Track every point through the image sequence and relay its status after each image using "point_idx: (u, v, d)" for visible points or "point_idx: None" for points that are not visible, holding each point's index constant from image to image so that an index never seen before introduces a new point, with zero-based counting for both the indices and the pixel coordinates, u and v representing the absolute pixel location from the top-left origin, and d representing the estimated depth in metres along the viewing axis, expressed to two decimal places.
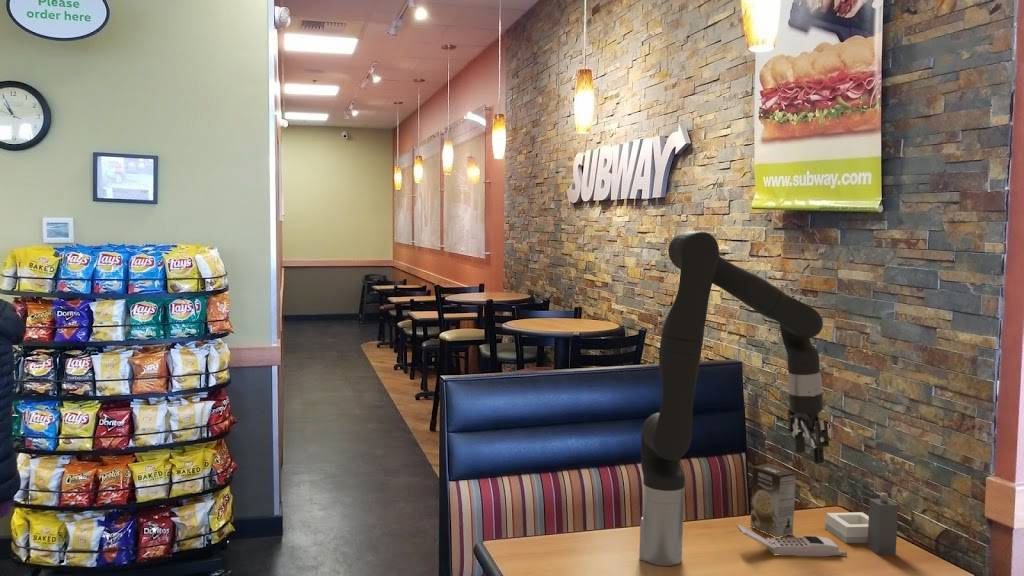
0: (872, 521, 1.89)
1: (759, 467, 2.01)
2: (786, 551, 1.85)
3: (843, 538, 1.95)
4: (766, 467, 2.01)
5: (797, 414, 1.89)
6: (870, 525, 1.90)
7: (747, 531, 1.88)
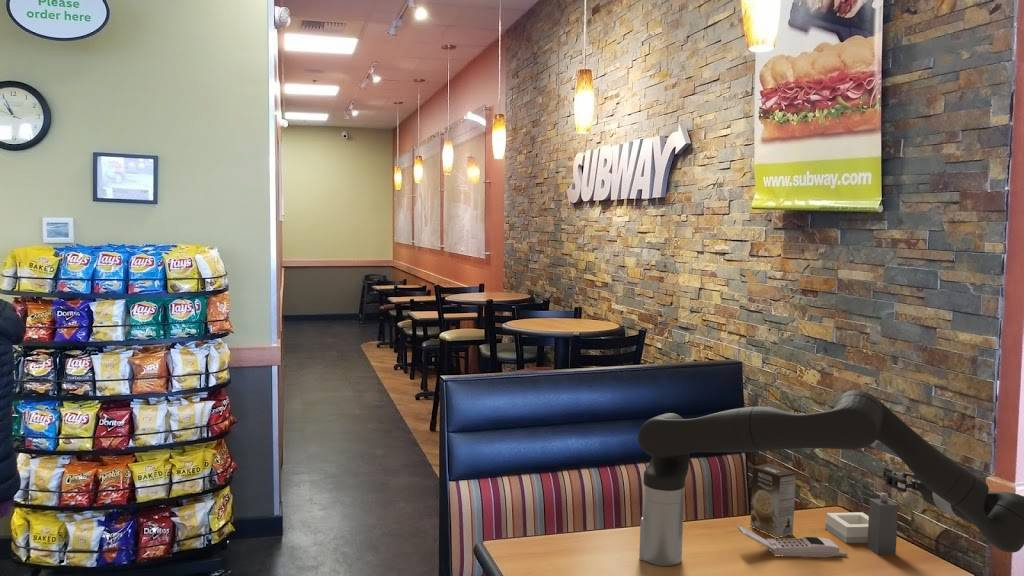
0: (872, 521, 1.89)
1: (759, 467, 2.01)
2: (787, 552, 1.84)
3: (843, 538, 1.95)
4: (766, 467, 2.01)
5: None
6: (870, 525, 1.90)
7: (748, 532, 1.87)
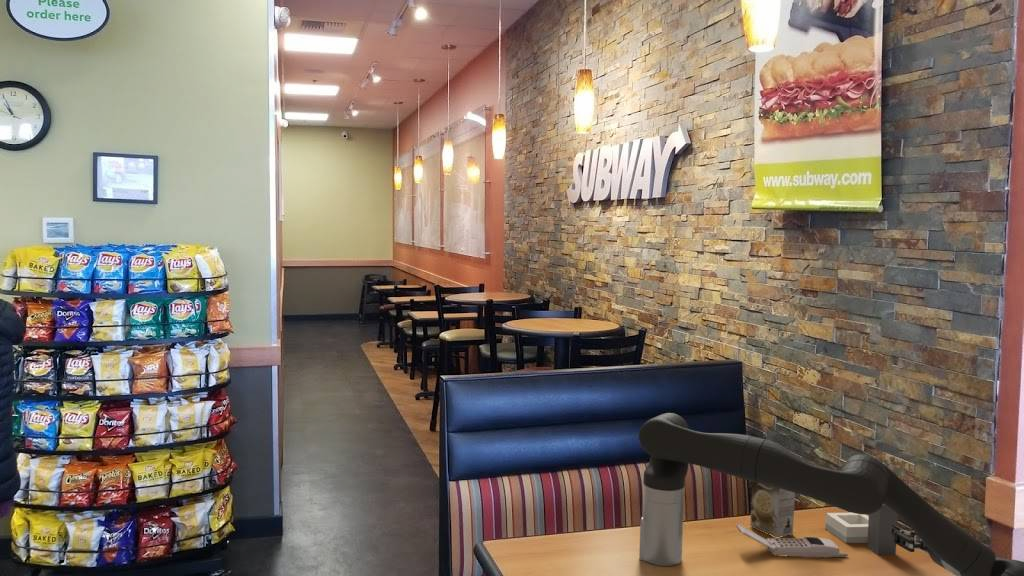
0: (872, 521, 1.89)
1: None
2: (786, 552, 1.85)
3: (843, 538, 1.95)
4: None
5: None
6: (870, 525, 1.90)
7: (747, 531, 1.88)
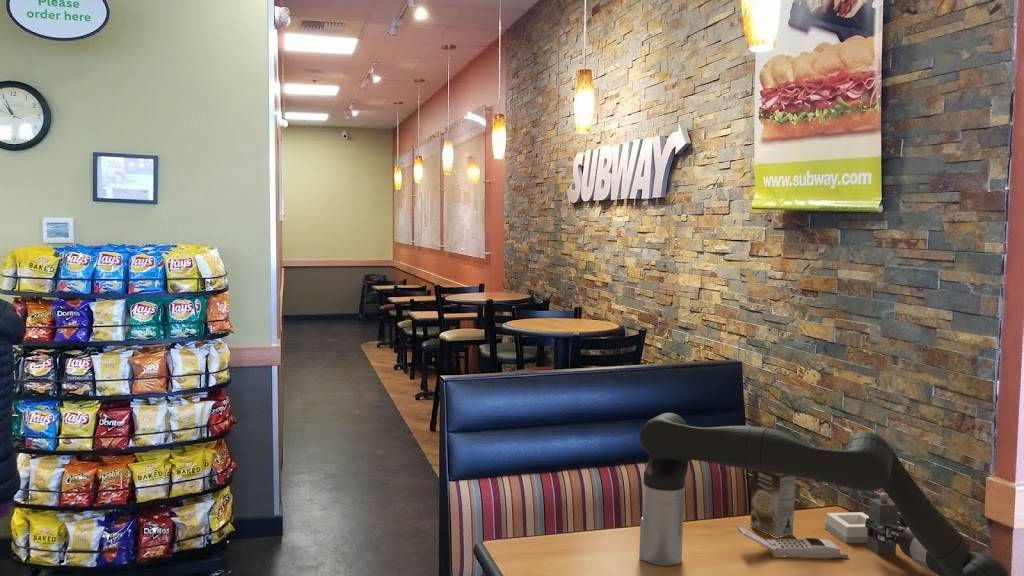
0: None
1: None
2: (786, 553, 1.84)
3: (843, 538, 1.95)
4: None
5: None
6: None
7: (747, 532, 1.87)
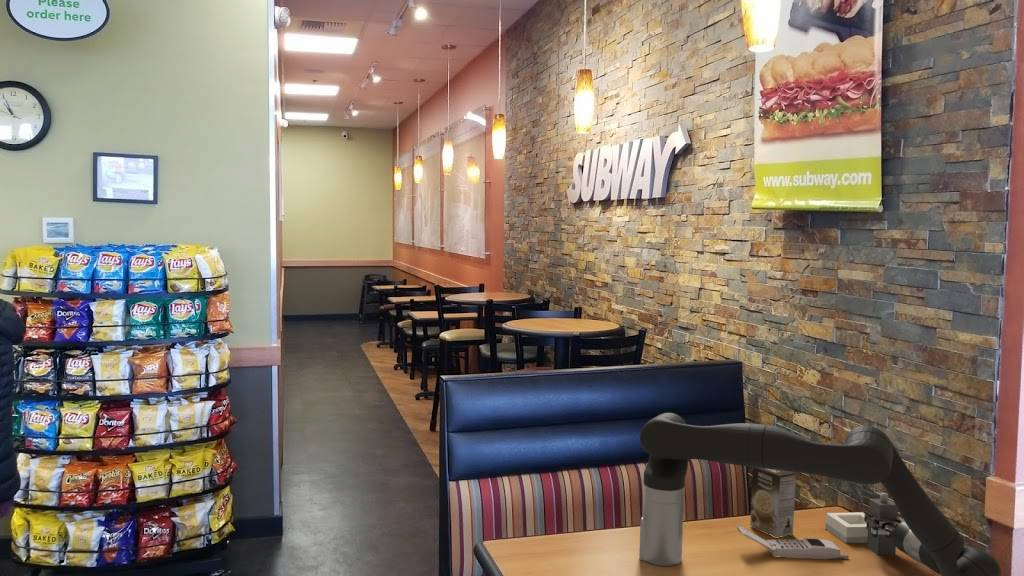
0: None
1: None
2: (786, 553, 1.84)
3: (843, 538, 1.95)
4: None
5: None
6: None
7: (747, 532, 1.87)
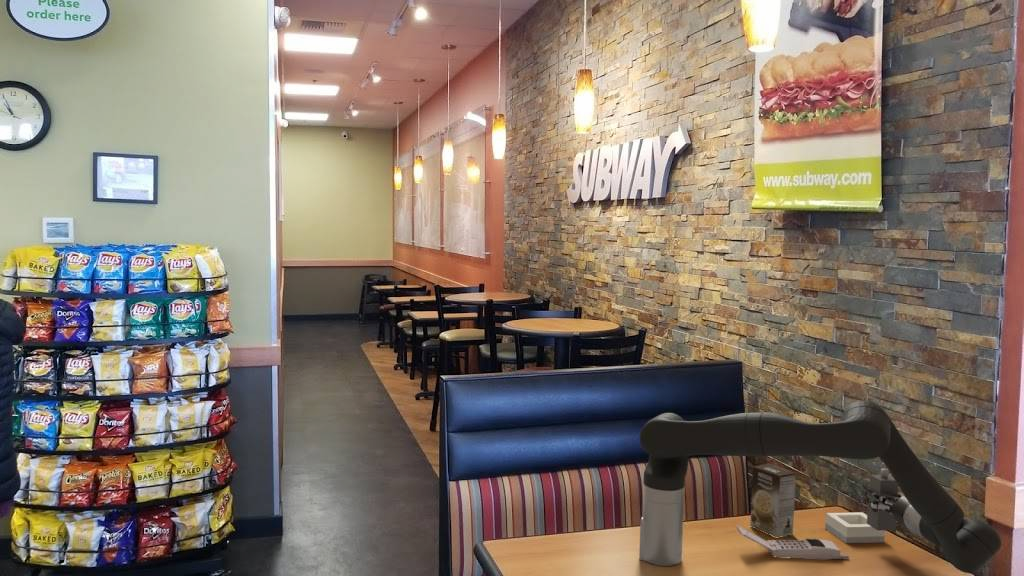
0: None
1: (759, 467, 2.01)
2: (786, 554, 1.83)
3: (843, 538, 1.95)
4: (766, 467, 2.01)
5: None
6: None
7: (747, 533, 1.87)
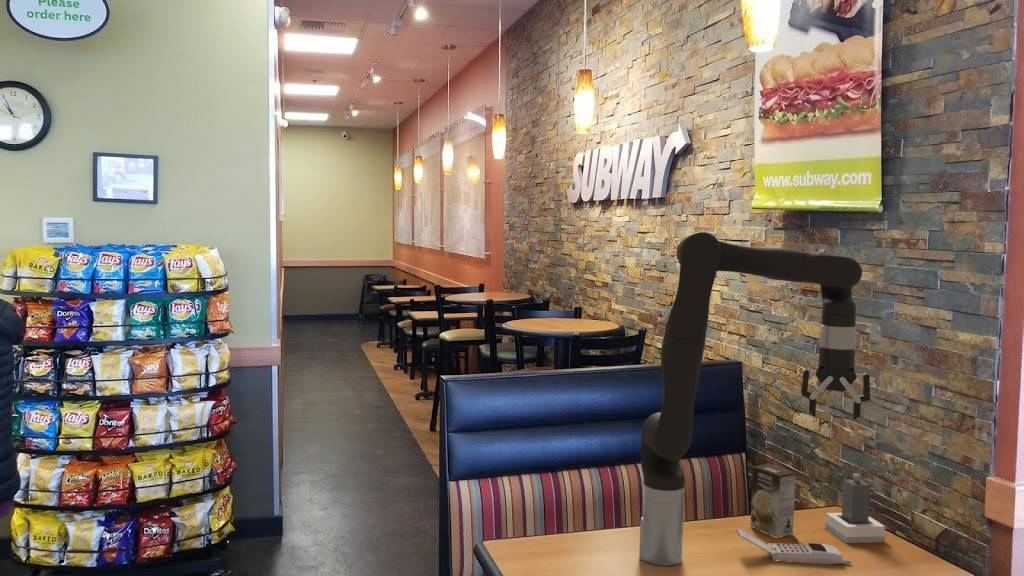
0: (846, 501, 1.99)
1: (759, 467, 2.01)
2: (786, 557, 1.81)
3: (843, 538, 1.95)
4: (766, 467, 2.01)
5: None
6: (844, 505, 2.00)
7: (747, 535, 1.85)
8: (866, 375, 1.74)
